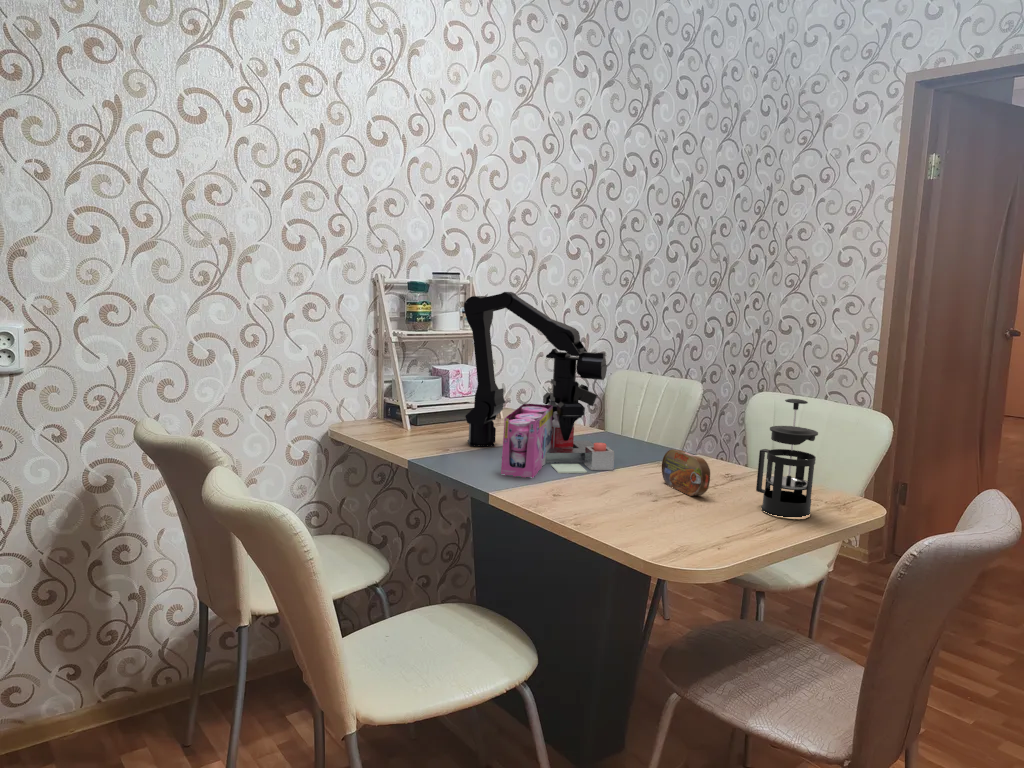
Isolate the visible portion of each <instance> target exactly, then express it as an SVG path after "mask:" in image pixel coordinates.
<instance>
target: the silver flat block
mask: <svg viewBox="0 0 1024 768" xmlns="http://www.w3.org/2000/svg"><path fill="white" fill-rule="evenodd" d="M585 446H594V443H593V442H591V440H573V448H550V449H549V450H548V451H547V452H546V461H545V464H552V463H551V462H556V463H555V464H579V463H581V464H582V463H584V464H585ZM558 462H559V463H558ZM561 462H562V463H561Z"/></svg>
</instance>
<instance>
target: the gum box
mask: <svg viewBox="0 0 1024 768" xmlns="http://www.w3.org/2000/svg"><path fill="white" fill-rule="evenodd" d="M552 414H553V405H548V404H539V403H522V404H521V405H520V406H518V408H517V409H515V410H514V411H512V412H510V413H509V414H508V415H506V416H505V417H504V419H503V420H504V421H503V434H502V435H503V438H502V453H501V467H500V469H501V470H500V475H501V474H505V475H504V476H506V475H513V476H512V477H516V476H521V477H520V478H526V477H532V478H531V479H534V478H535V477H534V476H537V474H538V473H539V472H538V471H539V470H540V471H541V469H542V468H543V467H544V466H545V464H546V463H545V461H546V452H547V451H548V450H549V449H550V448H551V439H552ZM543 465H544V466H543ZM542 466H543V467H542ZM533 477H534V478H533Z"/></svg>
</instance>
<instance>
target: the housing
mask: <svg viewBox="0 0 1024 768" xmlns="http://www.w3.org/2000/svg"><path fill="white" fill-rule="evenodd" d="M614 462H615V451H614V449H613V450H612V449H611V448H610V447H609V446H607V445H606V451H594V446H585V463H584V466H586V468H588V469H589V470H590V471H613V470H614V464H615V463H614Z"/></svg>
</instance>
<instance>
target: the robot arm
mask: <svg viewBox="0 0 1024 768" xmlns="http://www.w3.org/2000/svg"><path fill="white" fill-rule="evenodd" d="M504 309H507V310H508V311H510V312H512V313H513V314H514V315H516V316H517V317H519V318H520V319H521V320H523V321H525V322H526V323H527V324H529V325H531V326H532V327H533V328H535V329H537V330H538V331H539V332H541V334H542V335H544V337H545V338H546V340H547V341H548V342H549V343H550V344H551V345H552V346H553V347H554V348H552V349H551V351H550V352H549V353H547V354H546V356H545V358H546V359H547V358H548V359H553V373H552V374H553V375H552V378H551V379H550V384H551V385H552V392H546V393H544V395H542V396H543V397H542V403H543V405H553V414H552V420H554V418H553V415H554V412H555V411H557V413H558V414H556V415H557V419H558V422H559V426H560V429H561V433H562V436H563V440H564V441H568V439H569V437H570V434H571V431H572V428H573V425H574V426H575V422H576V421H577V420H579V419H580V418H582V417H583V416H585V414H586V413H585V411H586V407H585V406H584V405H583V404H582V403H580V402H583V403H585V404H587V405H588V406H591V407H594V404H595V402H596V399H597V397H598V394H597V393H594V392H592V391H590V389H589V386H587V385H585V384H580V385H579V382H578V381H577V379H576V377H577V376H576V374H577V375H578V376H580V378H581V379H589V380H598V381H599V380H601V381H604V380H605V378H606V377H607V368H608V365H607V359H606V352H602V351H601V352H600V351H599V352H591V351H590V352H589V351H587V349H586V347H585V346H584V344H583V343H582V341H581V336H580V332H579V330H578V329H577V328H576V327H573V326H571V325H568V324H566V323H563V322H561V321H558V320H555V319H553V318H551V317H550V316H548V315H546V314H545V313H543V312H542V311H541V310H539V309H537V308H536V307H534V306H533V305H531V304H530V303H529V302H527V301H526V300H524V299H522V298H521V297H520V296H518V295H517V294H516V293H515V292H513V291H504V292H501V293H497V294H494V295H489V296H485V295H473V296H470V297H468V298H467V299H466V300H465V302H464V303H463V310H464V315H465V319H466V322H467V323H468V325H469V327H470V329H471V332H472V339H473V341H472V342H473V349H474V358H475V359H474V360H475V368H476V377H477V379H476V380H477V387H476V390H475V395H474V402H473V403H474V405H473V408H472V409H471V410H469V411H468V412H467V414H466V415H465V419H466V423H467V424H468V439H466V440H467V443H468V445H469V446H470V447H495V443H496V430H497V428H496V427H495V422H494V421H496V419H497V416H498V415H499V414H500V413H501V412H502V411H503V409H504V404H506V400H505V397H504V392H505V390H504V388H503V387H502V388H499V387H498V385H497V383H496V376H495V369H494V368H495V367H494V359H493V358H494V357H493V349H492V348H493V347H492V339H491V337H492V336H491V326H492V322H493V320H494V312H496V311H500V310H504ZM579 401H580V402H579Z"/></svg>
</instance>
